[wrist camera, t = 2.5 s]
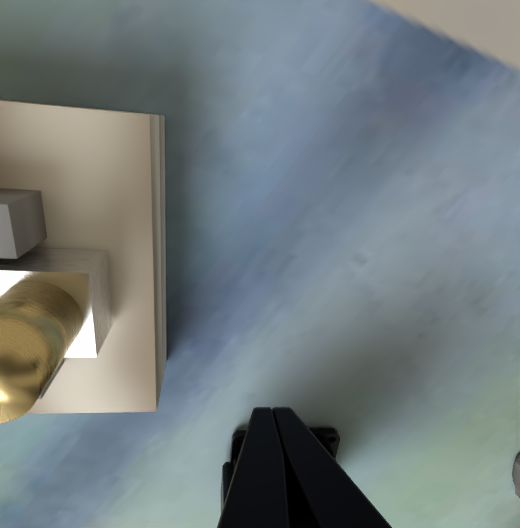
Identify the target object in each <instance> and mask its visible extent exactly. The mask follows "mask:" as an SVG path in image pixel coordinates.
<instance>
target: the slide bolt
mask: <svg viewBox="0 0 520 528" xmlns="http://www.w3.org/2000/svg"><path fill="white" fill-rule="evenodd" d="M112 325H113V321H112V307H111V294H110V280H109V266H108V252H107V250H87V249H65V248H42V247H33V248H32V249H30V250H29V251H27V252H26V253H25V254H23V255H22V256H20V257H19V258H18V259H9V258H0V423H3V422H8V421H12V420H14V419H17V418H19V417H21V416H23V415H24V414H25V413H27V412H28V411H29V410H30V409H31V408H32V407H33V405H34V404H35V402H36V401H37V399H38V398H39V396H40V394H41V393H42V391H43V390H44V388H45V387H46V385H47V383H48V382H49V380H50V379H51V377H52V376H53V374H54V372H55V371H56V369H57V368H58V366H59V364H60V363H61V361H62V360H63V358H64V357H97V355H98V353H99V351H100V349H101V347H102V345H103V343H104V341H105V339H106V337H107V335H108V333H109V331H110V329H111V327H112Z"/></svg>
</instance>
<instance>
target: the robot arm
mask: <svg viewBox="0 0 520 528" xmlns="http://www.w3.org/2000/svg"><path fill="white" fill-rule="evenodd" d="M239 439H242V440H239ZM339 441H340V437H339V434H338V432H337V430H336V429H333V428H320V429H308V428H307V426H306V425H305V424H304V423H303V422H302V420H301V419H300V418H299V417H298V416H297V414H296V413H295V412H294V411H293V410H292V409H291V408H290V407H274V408H273V409H271V408H270V407H256V408H254V409H253V412H252V415H251V418H250V421H249V425H248V428H247V430H240V431H236V432H235V433H234V434H233V435H232V443H231V455H230V462H226V463H225V464H224V465H223V469H222V483H221V516H220V520H219V523H218V526H217V528H392V527H391V526H390V525H389V523H388V522H387V521H386V520H385V519H384V518H383V516H382V515H381V514H380V513H379V512H378V510H377V509H376V508H375V507H374V506H373V504H372V503H371V502H370V501H369V500H368V499H367V497H366V496H365V495H364V494H363V493H362V491H361V490H360V489H359V488H358V487H357V486H356V484H355V483H354V482H353V481H352V480H351V478H350V477H349V476H348V475H347V474H346V473H345V471H344V470H343V469H342V468H341V467H340V465H339V464H338V463H337V462H336V459H335V458H336V454H337V449H338V445H339Z"/></svg>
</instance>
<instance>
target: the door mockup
mask: <svg viewBox="0 0 520 528" xmlns="http://www.w3.org/2000/svg"><path fill="white" fill-rule="evenodd" d="M33 247H42V248H65V249H87V250H107V252H108V266H109V280H110V294H111V307H112V321H113V325H112V327H111V329H110V331H109V333H108V335H107V337H106V339H105V341H104V343H103V345H102V347H101V349H100V351H99V353H98V355H97V357H64V358H63V360H62V361H61V363H60V364H59V366H58V368H57V369H56V371H55V372H54V374H53V376H52V377H51V379H50V380H49V382H48V383H47V385H46V387H45V388H44V390H43V391H42V393H41V394H40V396H39V398H38V399H37V401H36V402H35V404H34V405H33V407H32V408H31V409H30V410H29V411H28V412H27V413H25V414H36V413H102V412H156V411H157V406H158V401H159V396H160V391H161V387H162V382H163V377H164V372H165V367H166V362H167V343H166V220H165V115H155V114H145V113H135V112H124V111H114V110H103V109H93V108H82V107H72V106H62V105H51V104H41V103H30V102H20V101H10V100H0V258H9V259H18V258H19V257H20V256H22V255H23V254H25V253H26V252H27V251H29V250H30V249H32V248H33Z"/></svg>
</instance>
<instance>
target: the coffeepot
mask: <svg viewBox="0 0 520 528" xmlns="http://www.w3.org/2000/svg"><path fill="white" fill-rule="evenodd" d="M512 476H513V481H514V484H515V494H516V495H517V496H518V497H519V498H520V453H519V455H518V456H517V458H516V460H515V463H514V465H513V472H512Z"/></svg>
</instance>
